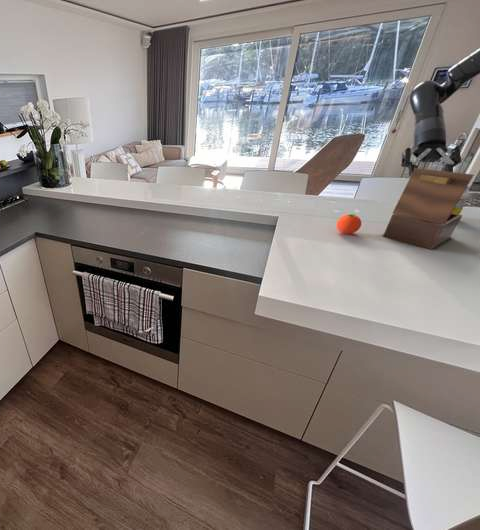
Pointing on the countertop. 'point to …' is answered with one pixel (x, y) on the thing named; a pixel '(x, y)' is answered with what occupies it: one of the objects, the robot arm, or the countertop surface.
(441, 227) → the chest
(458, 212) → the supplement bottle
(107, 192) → the countertop surface
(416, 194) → the lid
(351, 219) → the clementine
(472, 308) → the countertop surface
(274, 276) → the countertop surface
